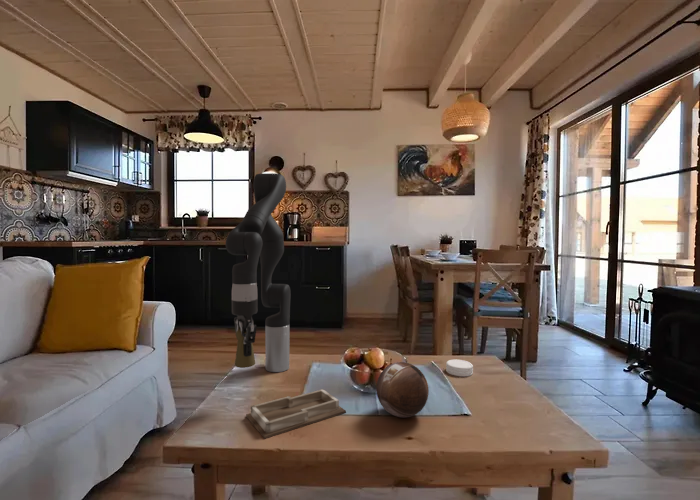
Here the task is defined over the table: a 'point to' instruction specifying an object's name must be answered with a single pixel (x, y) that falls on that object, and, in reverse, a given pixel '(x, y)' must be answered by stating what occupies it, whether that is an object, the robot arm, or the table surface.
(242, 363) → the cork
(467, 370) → the white disc
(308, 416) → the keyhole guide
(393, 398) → the wooden sphere
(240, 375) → the table surface
